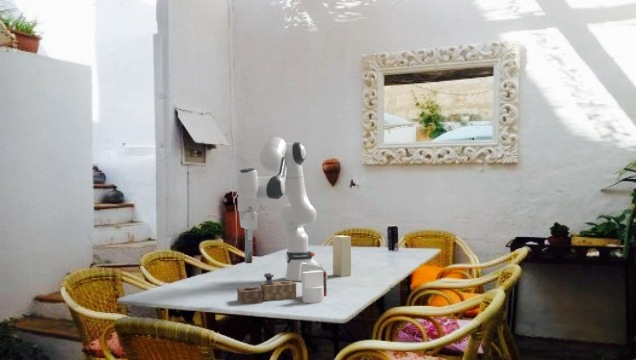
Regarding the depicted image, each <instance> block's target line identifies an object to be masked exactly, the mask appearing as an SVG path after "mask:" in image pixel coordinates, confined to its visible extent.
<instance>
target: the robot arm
mask: <svg viewBox="0 0 636 360" xmlns="http://www.w3.org/2000/svg"><path fill="white" fill-rule="evenodd" d="M306 151H307V150H306V148H305V145H304V144H303V143H301V142H298V141H297V142H296V141H295V142H286V141H285V140H284V138H282V137H280V136H274V137H271V138H269V140H267V142H266V143H265V145H264V146H263V147H262V148H261V150H260V153H259V157H258V160H259V164H260V166H262V168H264V169H265V171H269V172H274V173H275V175H268V176H259V175H258V171H257V168H253V167H252V168H251V167H250V168H243V169H240V170H238V174H237V188H236V190H237V192H238V194H237V195H238V196H237V212H238V216H239V224H240V228H243V229H244V230H245V229H247V232H248V236H247V239H248V240H252V241H253V234H254V231H257V230H258V214H257V211H260V203H259V201H260V200H259V199H274V200H279V199H281V197H283V196H284V195H285V197H287V199H288V201H289V203H288V204H284V205H283V206H281V207H280V208H279V210H278V217H279V220H280V221H281V222H282V224H283V227H284V230H285V234H286V243H287V244H286V256H285V258H286V263H287V264H286V271H285V272H286V273H285V277H284V280H285V281H293V282H302V272H308V271H309V270H311V269H324V268H323V266H322V264H320V263H319V262H318V261H316V260H315V259H314V258H313V257H315V256H316V253H315V252H313V251H312V252H311V251H309V250H310V249H309V236H308V234H307V233H306V231H305V229H304V226H309V225H311V224H313V223H314V222H315V221H316V219H317V215H318V214H317V210H316V208H315V207H314V206H313V205H312V204H311V202H310V199H309V197H308V194H307V191H306V186H305V185H306V184H305V175H304V171H303V169H304V168H303V166H302V163H304V161H305V160H306V158H307V152H306ZM327 279H329V276H328V275H327V274H326V280H327Z"/></svg>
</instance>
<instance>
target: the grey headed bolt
mask: <svg viewBox="0 0 636 360" xmlns="http://www.w3.org/2000/svg"><path fill="white" fill-rule="evenodd" d="M263 276H264V278H265V280H266V281H265V283H266V285H272V282H273V278H274V273H273V272H272V273H271V272H268V273H264V274H263Z"/></svg>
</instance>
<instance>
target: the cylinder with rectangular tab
mask: <svg viewBox="0 0 636 360" xmlns="http://www.w3.org/2000/svg"><path fill="white" fill-rule="evenodd" d="M301 283H302V284H301V287H302V288H301V289H302V290H301V291H302V294H301V297H302V302H304V303H308V304H309V303H311V304H312V303H313V304H314V303H315V304H316V303H321V302H324V301H325V296H324V283H323V271H321V270H320V271H308V272H302V281H301Z"/></svg>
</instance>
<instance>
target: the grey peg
mask: <svg viewBox="0 0 636 360" xmlns="http://www.w3.org/2000/svg"><path fill="white" fill-rule="evenodd" d="M244 234H245V235H244V239H245V240H244V264H253V239H252V240H248V239H247V236H248V232H247V229H245V228H244Z"/></svg>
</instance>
